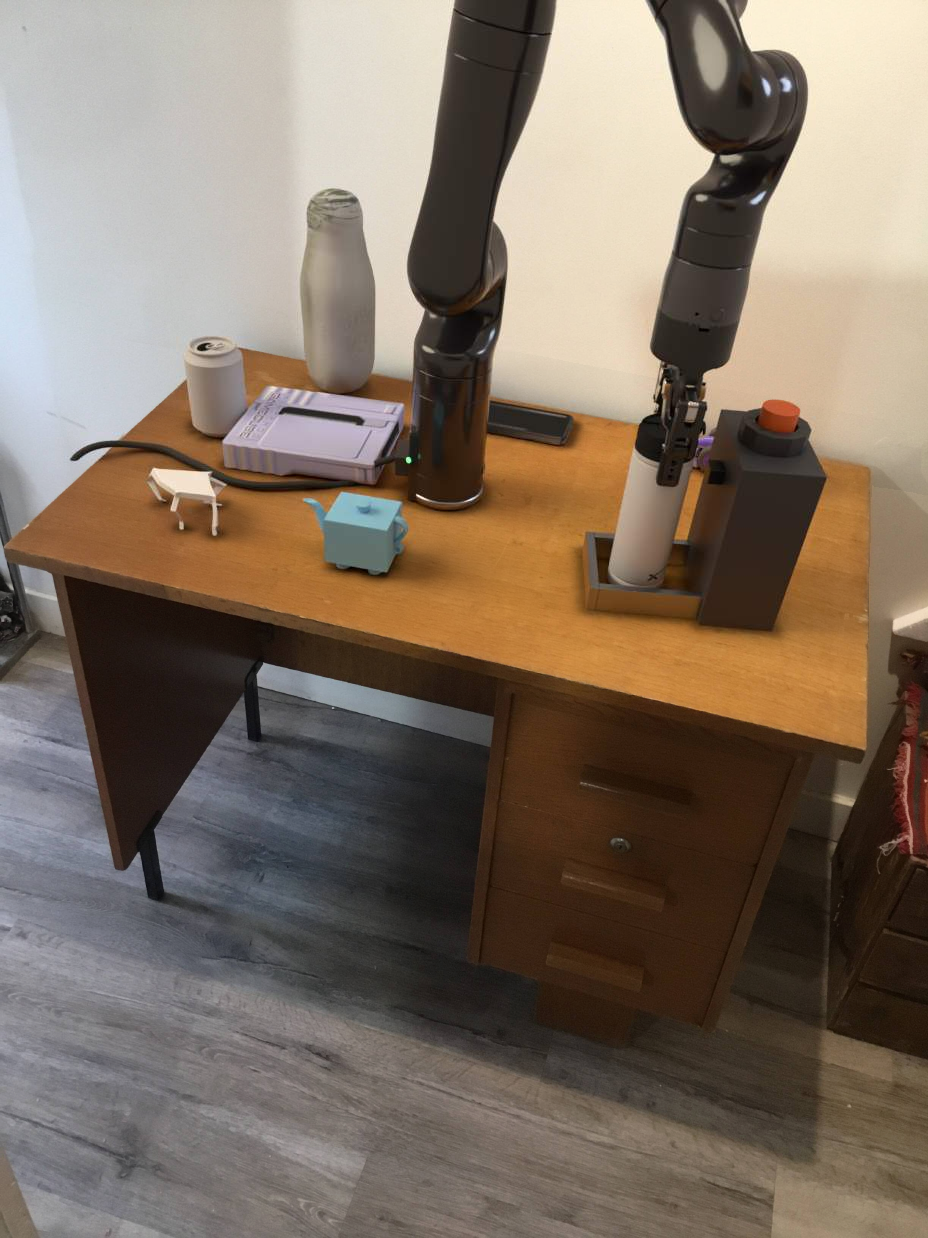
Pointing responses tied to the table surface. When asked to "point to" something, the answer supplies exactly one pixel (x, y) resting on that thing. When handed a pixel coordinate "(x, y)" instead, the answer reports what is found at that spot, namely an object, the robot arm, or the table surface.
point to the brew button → (779, 416)
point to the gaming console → (314, 435)
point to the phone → (529, 423)
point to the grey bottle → (337, 294)
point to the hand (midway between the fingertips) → (662, 467)
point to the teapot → (361, 531)
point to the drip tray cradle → (641, 597)
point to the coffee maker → (752, 521)
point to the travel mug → (647, 512)
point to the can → (215, 384)
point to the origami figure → (187, 489)
